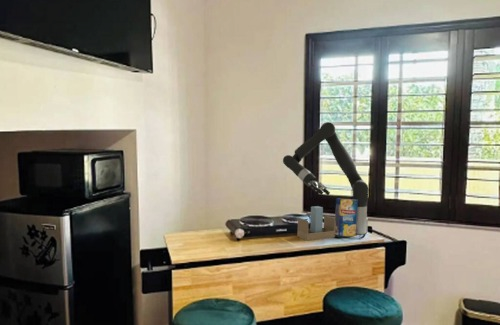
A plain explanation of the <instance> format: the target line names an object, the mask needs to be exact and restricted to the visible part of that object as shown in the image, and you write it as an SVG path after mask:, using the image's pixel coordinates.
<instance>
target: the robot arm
mask: <svg viewBox="0 0 500 325" xmlns="http://www.w3.org/2000/svg"><path fill="white" fill-rule="evenodd" d="M324 140H325V141H326V142H327V144H328V146H329V148H330V150H331V153H332V155H333V157H334V160H335V161H336V163H337V165H338V166H339V168H340V170H341V171H342V172H343V174H344V175H345V176H346V178H347V180H348V182H349V184H350V187H351V190H352V199H354V200H358V205H357V219H356V233H355V235H366V234H367V233H368V225H369V224H368V223H369V222H368V221H369V219H368V213H367V212H368V202H369V201H368V200H369V186H368V184H367V183H366V181H364V180H363V178H362V177H361V175H360V174H359V173H358V170H357V168H356V165H355V162H354V160H353V158H352V156H351V154H350V152H349V150H348V149H347V148H346V147H345V145H344V144H343V143H342V142H341V140H340V138H339V136H338V134H337V132H336V126H335V125H334V123H332V122H328V121H327V122H324V123H322V124H321V125H320V128H319V129H318V130H317V131H316V133H314V134H313V135H312V136H311V137H310V138H309V139H307V140H306V141H304V142H303V143H302V144H301V145H300V146H298V147H297V148H296V149H295V150H294V154H293V155H289V154H288V155H287V154H286V155H285V156H284V157H283V159H282V163H283V164H284V166H286V168H288V169H289V170H291V171H292V172H293V173H294V175H295V176H297V177H298V178H299V180H300V181H301V182H302V183H304V184H305V185H306V186H307V187H309V188H310V189H311V190H312V191H315V192H316V193H318V194H319V196H322V195H323V194H326V196H329V195H330V194H331V192H330V191H329V190H328V189H327V186H325V185H324V183H322V182H321V181H317V176H315V175H314V174H313V172H311V171H310V170H308V169H307V168H306V167H305V166H303V165H302V164H300V162H301V161H302V159H304V158H305V157H306V156H307V155H308V154H309V153H311V152H312V151H313V150H314V149H315V148H316V147H317V146H318V145H319V144H320V143H321V142H323V141H324Z"/></svg>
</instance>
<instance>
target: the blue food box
mask: <svg viewBox="0 0 500 325" xmlns="http://www.w3.org/2000/svg"><path fill="white" fill-rule="evenodd" d="M357 205H358V200H354V199H353V198H342V197H341V198H340V197H338V198H337V197H336V200H335V215H334V218H335V236H338V237H354V238H355V237H356V234H355V233H356V219H357Z"/></svg>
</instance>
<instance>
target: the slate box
mask: <svg viewBox="0 0 500 325" xmlns="http://www.w3.org/2000/svg"><path fill="white" fill-rule="evenodd" d="M323 213H324V207H323V206H319V205H316V206H310V228H309V229H310V233H319V232H322V227H323V224H324V214H323Z"/></svg>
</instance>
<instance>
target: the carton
mask: <svg viewBox="0 0 500 325" xmlns="http://www.w3.org/2000/svg"><path fill="white" fill-rule="evenodd" d="M323 227H324V228H322V232H319V233H310V228H309V220H306V219H303V218H300V217H297V232H296V233H297V238H300V239H301V240H304V241H306V242H310V241H316V240H325V239H333V238H336V234H335V217H331V216H329V215H324V214H323Z"/></svg>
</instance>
